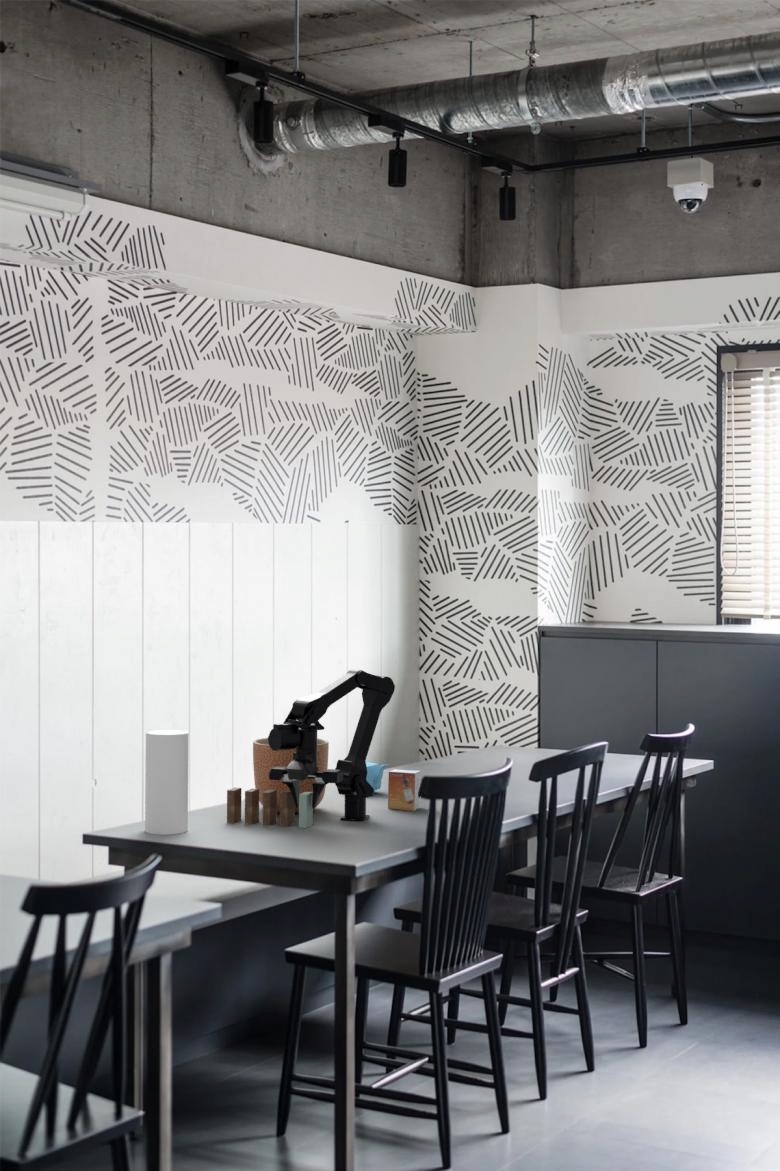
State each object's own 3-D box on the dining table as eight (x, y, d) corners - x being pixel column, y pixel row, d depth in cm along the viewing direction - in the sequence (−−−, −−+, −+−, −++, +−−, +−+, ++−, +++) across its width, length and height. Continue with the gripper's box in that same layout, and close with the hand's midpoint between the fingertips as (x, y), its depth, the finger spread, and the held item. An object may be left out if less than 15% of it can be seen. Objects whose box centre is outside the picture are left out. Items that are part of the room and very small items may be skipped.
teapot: (324, 793, 424) (324, 759, 423) (347, 787, 436) (348, 754, 436) (378, 798, 415) (378, 764, 415) (400, 792, 428) (400, 758, 427)
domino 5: (298, 827, 369) (299, 794, 369) (305, 824, 374) (305, 791, 374) (306, 827, 368) (306, 794, 368) (312, 824, 373) (312, 792, 373)
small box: (387, 809, 398) (387, 771, 398) (393, 806, 403) (394, 768, 403) (414, 811, 395) (415, 773, 395) (420, 807, 401) (421, 770, 400)
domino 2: (244, 823, 373) (244, 791, 373) (251, 820, 378) (252, 788, 378) (251, 824, 373) (252, 791, 373) (258, 821, 378) (259, 788, 377)
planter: (268, 801, 408) (269, 735, 407) (337, 806, 402) (338, 738, 402) (240, 814, 388) (241, 744, 387) (313, 818, 382) (314, 747, 382)
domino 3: (262, 825, 372) (262, 792, 372) (269, 821, 377) (269, 789, 377) (269, 825, 371) (270, 792, 371) (276, 822, 376) (276, 789, 376)
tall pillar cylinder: (187, 826, 369) (188, 729, 368) (188, 834, 358) (188, 734, 358) (145, 827, 367) (146, 729, 367) (144, 835, 357) (145, 734, 356)
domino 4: (280, 826, 371) (279, 793, 371) (287, 822, 375) (286, 790, 375) (287, 826, 370) (286, 793, 370) (294, 822, 375) (293, 790, 375)
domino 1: (226, 822, 375) (227, 790, 375) (234, 819, 380) (234, 787, 379) (233, 823, 374) (234, 790, 374) (241, 819, 379) (241, 787, 379)
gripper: (261, 750, 366) (260, 811, 366) (330, 753, 361) (329, 815, 361) (276, 744, 376) (276, 804, 377) (344, 748, 371) (343, 808, 372)
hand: (305, 808), depth 371 cm, fingers open, 4 cm apart
